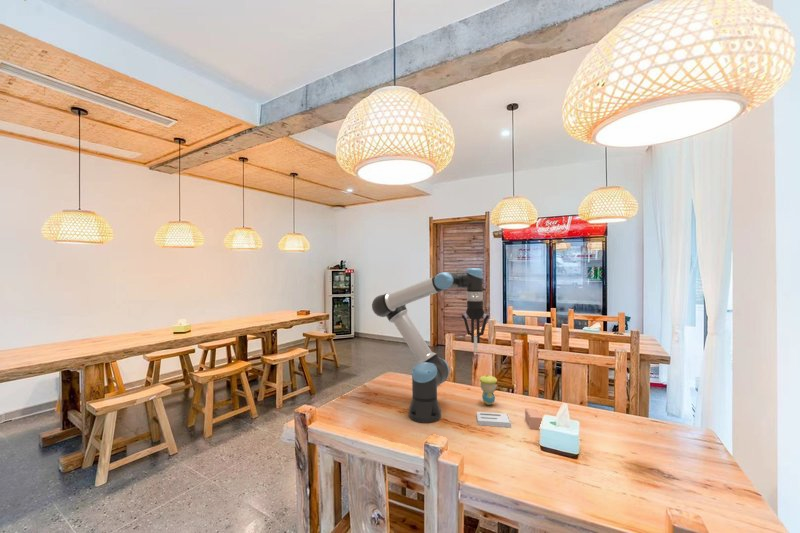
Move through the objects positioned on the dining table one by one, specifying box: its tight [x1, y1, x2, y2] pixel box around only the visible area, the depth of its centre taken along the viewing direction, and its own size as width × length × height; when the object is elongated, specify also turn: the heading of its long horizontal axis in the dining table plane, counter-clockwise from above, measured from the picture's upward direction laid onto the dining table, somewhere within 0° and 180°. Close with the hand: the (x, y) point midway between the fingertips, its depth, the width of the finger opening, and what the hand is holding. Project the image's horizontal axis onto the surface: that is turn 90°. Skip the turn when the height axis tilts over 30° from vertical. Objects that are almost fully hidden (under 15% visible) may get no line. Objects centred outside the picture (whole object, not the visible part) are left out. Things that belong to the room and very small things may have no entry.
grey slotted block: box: [476, 411, 512, 428], centre depth 143 cm, size 14×9×2 cm, turn 80°
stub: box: [524, 408, 543, 430], centre depth 141 cm, size 5×9×5 cm, turn 170°
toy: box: [478, 374, 498, 406], centre depth 162 cm, size 8×9×15 cm
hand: (475, 349), depth 152 cm, fingers closed
